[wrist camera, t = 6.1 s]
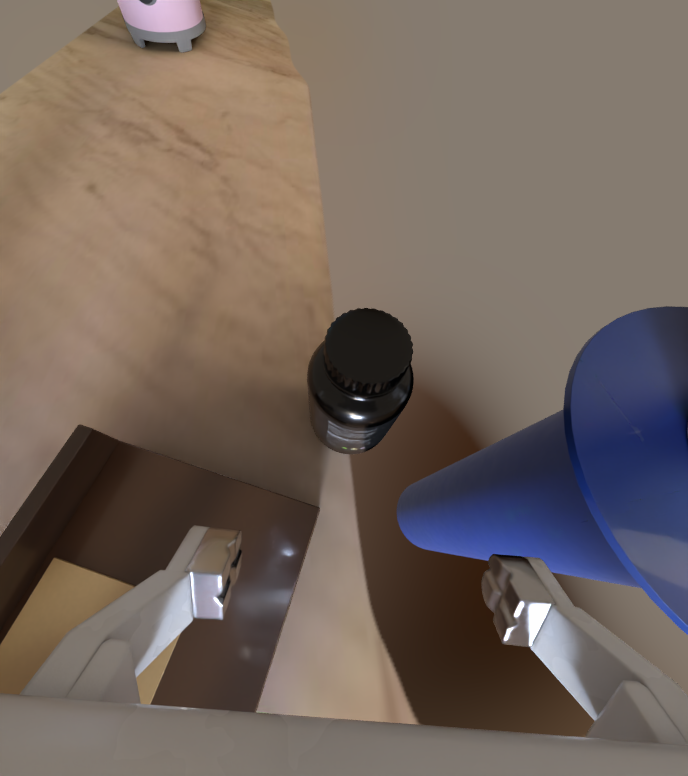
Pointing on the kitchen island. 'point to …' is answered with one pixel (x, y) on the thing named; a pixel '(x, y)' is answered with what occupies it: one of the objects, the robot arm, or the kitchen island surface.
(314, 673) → the kitchen island surface
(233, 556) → the robot arm
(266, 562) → the shelf
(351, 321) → the supplement bottle
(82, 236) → the kitchen island surface
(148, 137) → the kitchen island surface
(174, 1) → the blender
